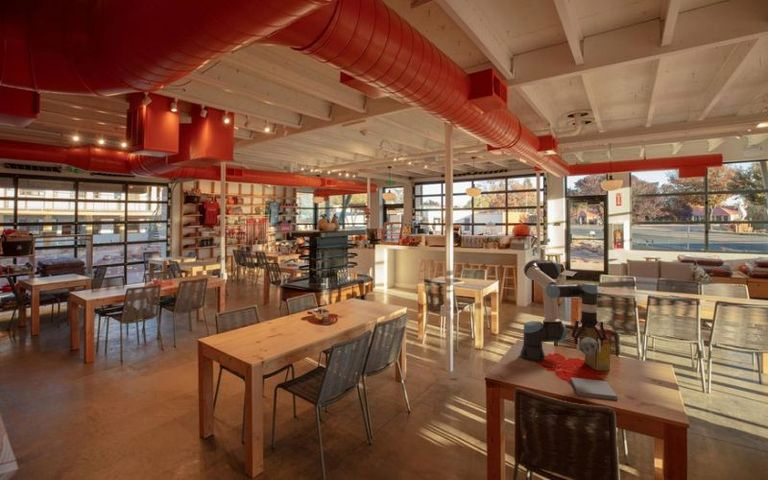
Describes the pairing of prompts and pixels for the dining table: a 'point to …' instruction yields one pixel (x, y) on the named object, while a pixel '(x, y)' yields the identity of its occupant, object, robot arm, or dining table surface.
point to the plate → (593, 388)
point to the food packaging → (601, 359)
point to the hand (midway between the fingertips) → (588, 350)
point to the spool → (588, 346)
